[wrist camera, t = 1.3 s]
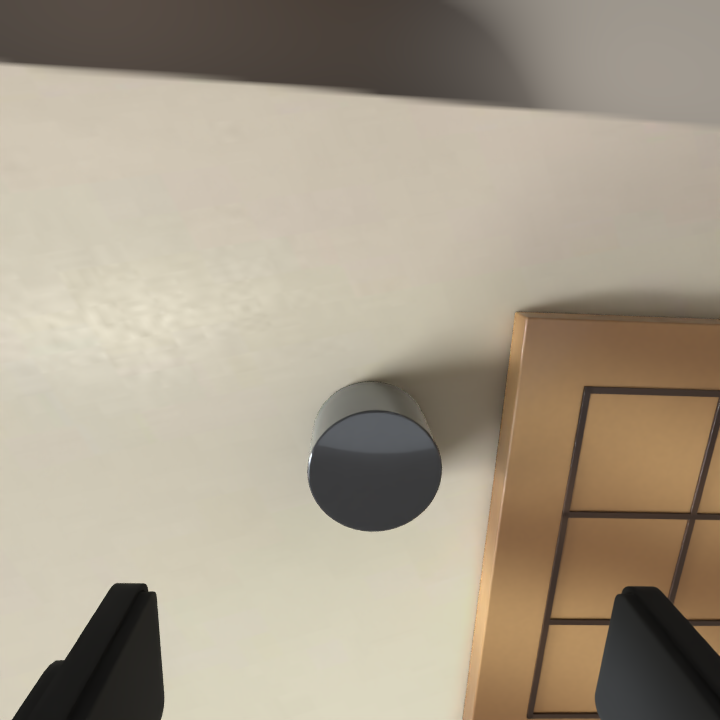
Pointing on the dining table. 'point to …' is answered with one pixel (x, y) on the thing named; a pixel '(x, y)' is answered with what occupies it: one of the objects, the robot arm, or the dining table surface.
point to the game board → (595, 502)
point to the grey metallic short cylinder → (373, 458)
